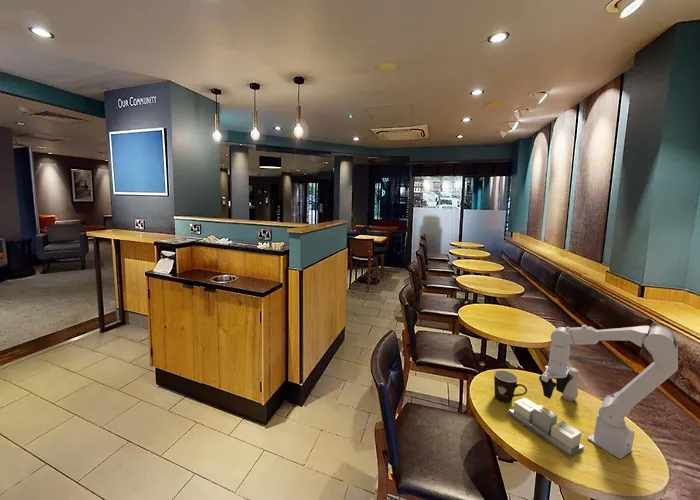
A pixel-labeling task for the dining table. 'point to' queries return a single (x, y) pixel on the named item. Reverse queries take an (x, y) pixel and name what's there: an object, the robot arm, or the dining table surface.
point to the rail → (545, 435)
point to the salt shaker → (571, 386)
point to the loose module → (544, 418)
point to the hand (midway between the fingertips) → (553, 394)
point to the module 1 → (524, 408)
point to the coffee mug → (506, 386)
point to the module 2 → (566, 435)
